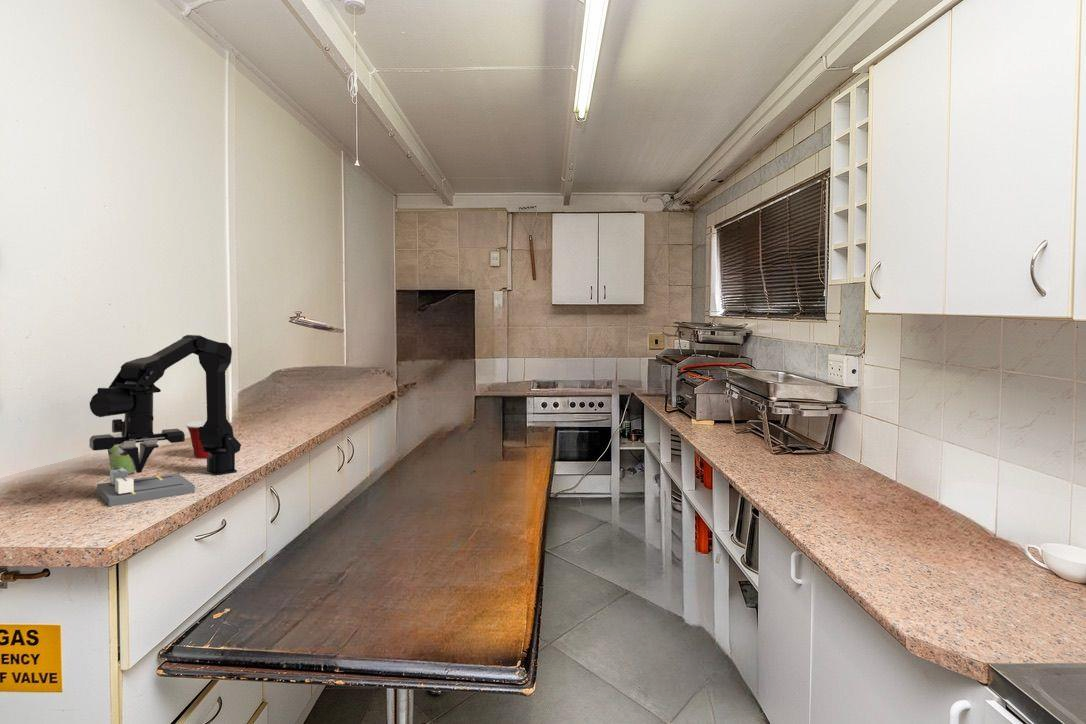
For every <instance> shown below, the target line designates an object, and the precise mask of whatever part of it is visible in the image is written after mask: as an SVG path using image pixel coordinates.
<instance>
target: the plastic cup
mask: <svg viewBox="0 0 1086 724" xmlns="http://www.w3.org/2000/svg"><path fill="white" fill-rule="evenodd" d="M206 421H207V419H200V420H193V421H190V422H187V423H186V424H185V427H186V428H187V430H188V432H189V436H190V439H191V445H192V449H193V455H194V458H195V457H196V458H195V459H207V458H208V457H209V452H204V450H203V446H202V445H201V442H200V440H199V427H200V426H204V424H205V422H206Z"/></svg>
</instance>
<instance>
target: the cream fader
mask: <svg viewBox="0 0 1086 724" xmlns="http://www.w3.org/2000/svg"><path fill="white" fill-rule="evenodd" d="M133 479H134V478H133V477H131V476H127V477H122V478H116V479H115V491H116V492H117V493H118V494H122V493H128V492H134V480H133Z"/></svg>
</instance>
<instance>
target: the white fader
mask: <svg viewBox="0 0 1086 724" xmlns="http://www.w3.org/2000/svg"><path fill="white" fill-rule="evenodd" d="M122 477H128V474H127V471H126V470H125V469H116V470H111V469H110V470H109V482H111V483H112V484H113V485H115V479H116V478H122Z"/></svg>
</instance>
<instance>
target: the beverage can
mask: <svg viewBox="0 0 1086 724" xmlns="http://www.w3.org/2000/svg"><path fill="white" fill-rule="evenodd" d="M111 435H112V436H113V437H124V436H121V432H117V433H113V434H111ZM130 440H131V439H130ZM132 440H133V439H132ZM119 445H120V444H118V445H114V446H113V447H112V448H111V449H107V452H108V453H107V454H108V458H109V465H110V470H116V469H125V470H126V471H127V475H129V474H132V473H134V472H136V470H135V468H134V465H133V463H132V460H131V458H130V456H129V454H128V453H127V451H123V450H121V449H120V448H119Z"/></svg>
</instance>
